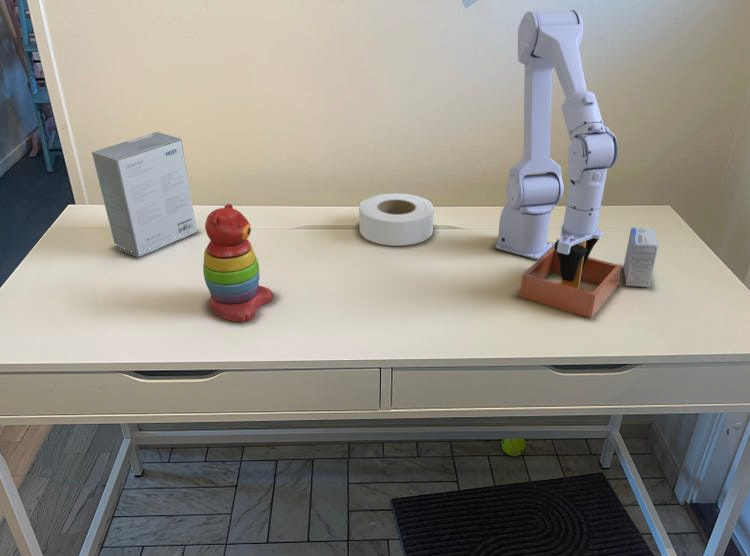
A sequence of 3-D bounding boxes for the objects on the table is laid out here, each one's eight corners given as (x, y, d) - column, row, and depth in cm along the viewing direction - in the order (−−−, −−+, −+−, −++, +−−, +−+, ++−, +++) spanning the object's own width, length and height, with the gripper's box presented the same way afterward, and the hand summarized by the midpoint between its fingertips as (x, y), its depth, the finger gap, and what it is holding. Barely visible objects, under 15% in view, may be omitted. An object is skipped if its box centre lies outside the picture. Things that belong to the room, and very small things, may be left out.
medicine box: (649, 288, 133) (659, 246, 128) (624, 286, 134) (633, 243, 129) (646, 269, 140) (655, 228, 135) (622, 267, 140) (631, 226, 135)
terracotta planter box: (519, 296, 130) (522, 274, 128) (549, 268, 140) (552, 247, 137) (591, 318, 124) (595, 295, 122) (616, 287, 134) (621, 265, 131)
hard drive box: (174, 223, 155) (158, 130, 143) (198, 232, 151) (183, 138, 140) (113, 248, 144) (90, 150, 133) (137, 259, 140) (116, 159, 129)
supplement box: (579, 289, 133) (588, 239, 127) (576, 297, 130) (585, 247, 124) (561, 286, 134) (569, 236, 128) (558, 294, 131) (566, 244, 125)
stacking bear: (247, 324, 121) (234, 226, 111) (195, 313, 124) (179, 217, 114) (278, 295, 129) (269, 202, 119) (229, 285, 132) (216, 193, 122)
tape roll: (366, 213, 160) (365, 190, 157) (436, 218, 159) (437, 194, 155) (352, 243, 147) (351, 218, 144) (428, 249, 146) (429, 223, 143)
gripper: (590, 224, 115) (577, 297, 123) (620, 196, 126) (606, 266, 133) (550, 214, 119) (539, 286, 126) (582, 187, 129) (570, 256, 136)
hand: (571, 275), depth 130 cm, fingers closed on supplement box, 4 cm apart
